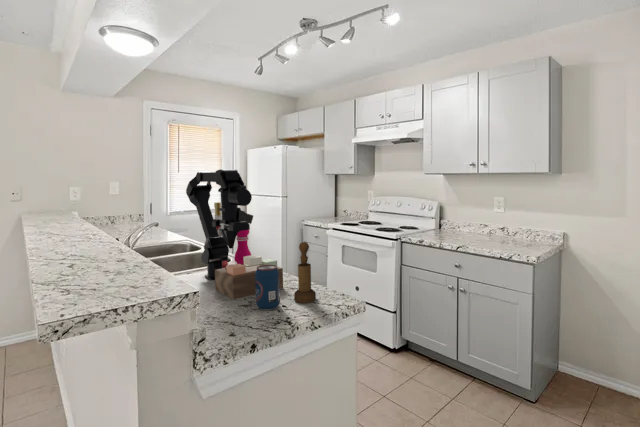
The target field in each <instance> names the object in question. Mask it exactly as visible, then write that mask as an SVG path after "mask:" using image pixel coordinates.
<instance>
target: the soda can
mask: <svg viewBox="0 0 640 427" xmlns="http://www.w3.org/2000/svg"><path fill="white" fill-rule="evenodd" d="M277 267H278V265H277V266H275V265H261V266H258V267H257V270H256V272H255V289H256V295H255V304H256V307H257V308H258V309H259V310H261V311H273V310H276V309H278V307H279V305H280V303H281V302H280V300H281V297H280V296H281V294H280V293H281V292H280V290H281V289H279V271H278V270H277Z"/></svg>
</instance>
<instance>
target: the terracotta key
mask: <svg viewBox="0 0 640 427" xmlns="http://www.w3.org/2000/svg"><path fill="white" fill-rule="evenodd" d="M226 267H227V273H228V274H230V275H233V276H235V275H240V274H245V273H246V266H244V265H241V264H237V263H235V264H230V265H227V266H226Z"/></svg>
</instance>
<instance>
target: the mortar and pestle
mask: <svg viewBox="0 0 640 427" xmlns="http://www.w3.org/2000/svg"><path fill="white" fill-rule="evenodd" d="M309 248H310V245H309V243H308V242H307V241H303V242H300V243H299V245H298V249H299V251H300V253H301V256H300V262H301V263H298V264H297V273H298V275H297V277H298V278H297V279H298V280H297V281H298V288H297V289H296V291H295V292H294V293H293V295H294V296H293V299H294V302H295V303H299V304H309V303H314V302H315V301H316V300H317V295H316V294H317V293H316V291H315V290H314V289H312V268H311V265H312V264H311V263H309V262H308V260H309V259H308V258H309V257H308V255H307V254H308V251H309Z"/></svg>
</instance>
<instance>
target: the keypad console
mask: <svg viewBox="0 0 640 427" xmlns="http://www.w3.org/2000/svg"><path fill="white" fill-rule="evenodd" d="M243 265H244V266H246V273H245V274H240V275H235V276H233V275H230V274H228V273H227V266H226V267H225V268H222V269H216V270H215V279H214V282H215V285H214V286H215V291H217V292H219V293H221V294H223V295H224V296H226V297H228V298H230V299H231V300H239V299H244V298H248V297H252V296H256V289H255V272H256V270H257V267H258V266H260V264H258V265H253V266H249V265H246V264H243ZM277 270H278V271H279V290H281V288H282V289H284V268H283V267H281V266H277Z"/></svg>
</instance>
